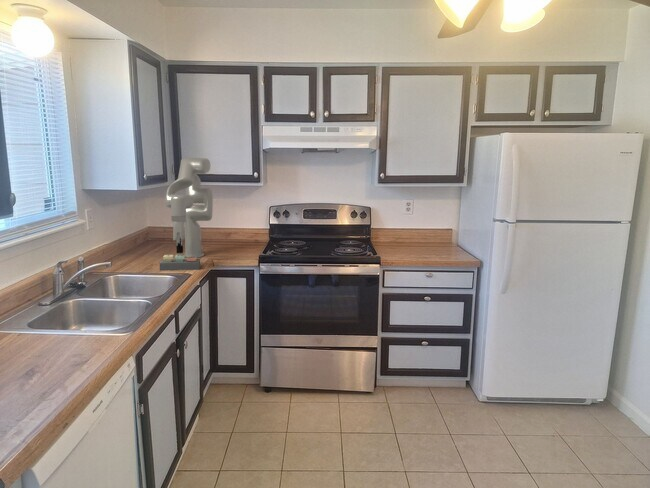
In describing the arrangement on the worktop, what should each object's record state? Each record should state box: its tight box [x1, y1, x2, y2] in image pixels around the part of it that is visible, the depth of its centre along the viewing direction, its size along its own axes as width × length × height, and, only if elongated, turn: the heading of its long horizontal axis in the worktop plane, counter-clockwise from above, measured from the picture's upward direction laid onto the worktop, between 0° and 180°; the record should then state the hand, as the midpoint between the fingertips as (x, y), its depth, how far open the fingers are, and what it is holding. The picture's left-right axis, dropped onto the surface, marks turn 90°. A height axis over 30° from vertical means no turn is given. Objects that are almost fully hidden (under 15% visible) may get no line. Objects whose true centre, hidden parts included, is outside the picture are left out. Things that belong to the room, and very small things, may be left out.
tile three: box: [186, 256, 198, 262], centre depth 231 cm, size 5×5×5 cm
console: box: [159, 258, 201, 272], centre depth 230 cm, size 20×9×4 cm, turn 103°
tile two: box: [174, 254, 186, 262], centre depth 230 cm, size 5×5×5 cm
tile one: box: [162, 254, 175, 262], centre depth 229 cm, size 5×5×5 cm
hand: (179, 252), depth 229 cm, fingers closed
